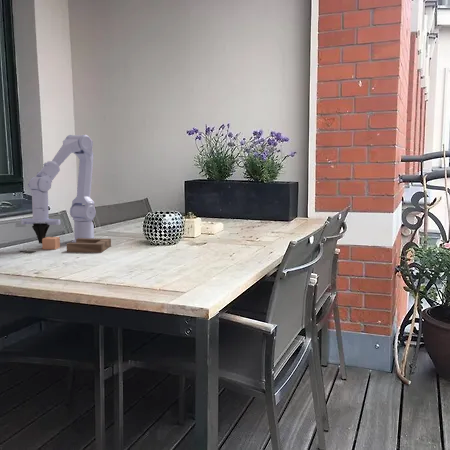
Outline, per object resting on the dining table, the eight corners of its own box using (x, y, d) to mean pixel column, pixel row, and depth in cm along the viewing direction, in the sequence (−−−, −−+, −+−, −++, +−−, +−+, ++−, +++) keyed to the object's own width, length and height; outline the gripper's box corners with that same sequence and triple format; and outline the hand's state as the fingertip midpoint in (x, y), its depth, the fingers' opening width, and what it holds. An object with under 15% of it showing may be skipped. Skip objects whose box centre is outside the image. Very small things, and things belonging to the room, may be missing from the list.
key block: (47, 246, 200) (46, 236, 200) (59, 247, 200) (59, 237, 200) (42, 249, 195) (42, 238, 195) (55, 249, 195) (55, 239, 195)
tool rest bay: (78, 245, 204) (78, 238, 204) (111, 246, 204) (110, 238, 203) (66, 251, 190) (66, 243, 190) (101, 252, 190) (101, 244, 190)
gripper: (17, 208, 192) (18, 244, 194) (55, 209, 192) (56, 245, 193) (25, 206, 199) (26, 241, 201) (62, 207, 199) (62, 242, 200)
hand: (41, 243), depth 197 cm, fingers closed
